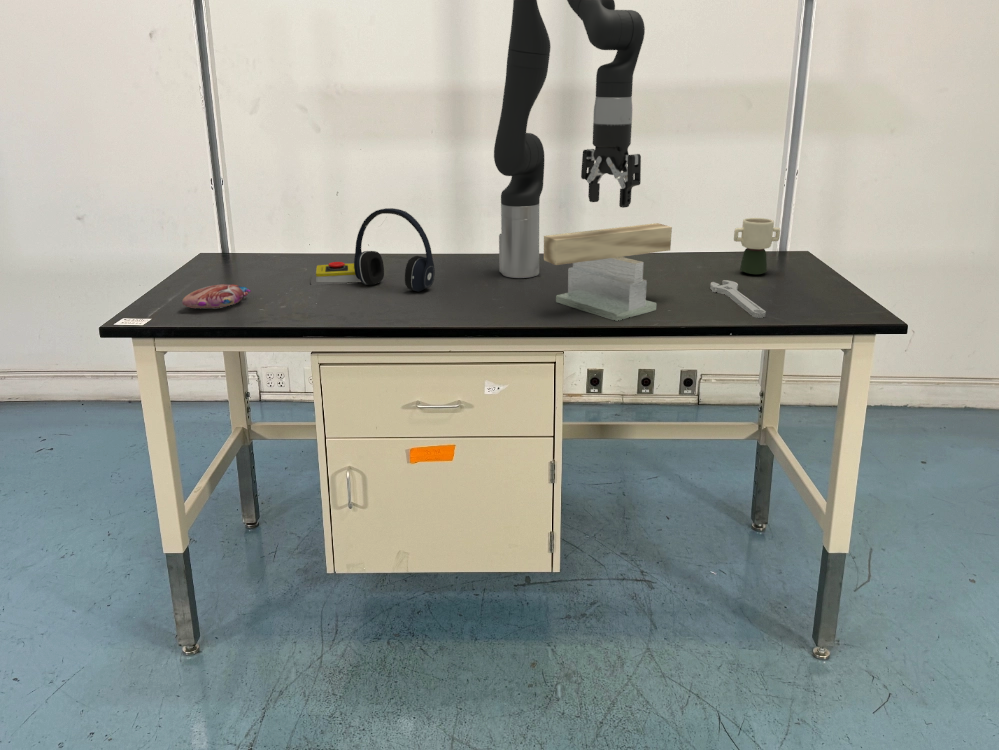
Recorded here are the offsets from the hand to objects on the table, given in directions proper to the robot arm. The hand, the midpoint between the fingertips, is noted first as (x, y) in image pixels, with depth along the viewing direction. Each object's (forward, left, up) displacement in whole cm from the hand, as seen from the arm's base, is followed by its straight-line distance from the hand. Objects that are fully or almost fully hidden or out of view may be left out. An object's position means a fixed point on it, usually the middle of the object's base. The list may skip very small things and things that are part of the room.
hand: (608, 204), depth 163 cm
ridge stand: (0, 0, -22) cm, 22 cm away
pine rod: (0, 0, -11) cm, 11 cm away
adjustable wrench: (+15, +25, -22) cm, 36 cm away
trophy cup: (+4, +47, -22) cm, 52 cm away
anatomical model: (-56, -62, -22) cm, 86 cm away
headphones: (-43, -26, -22) cm, 55 cm away
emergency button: (-58, -32, -22) cm, 70 cm away
